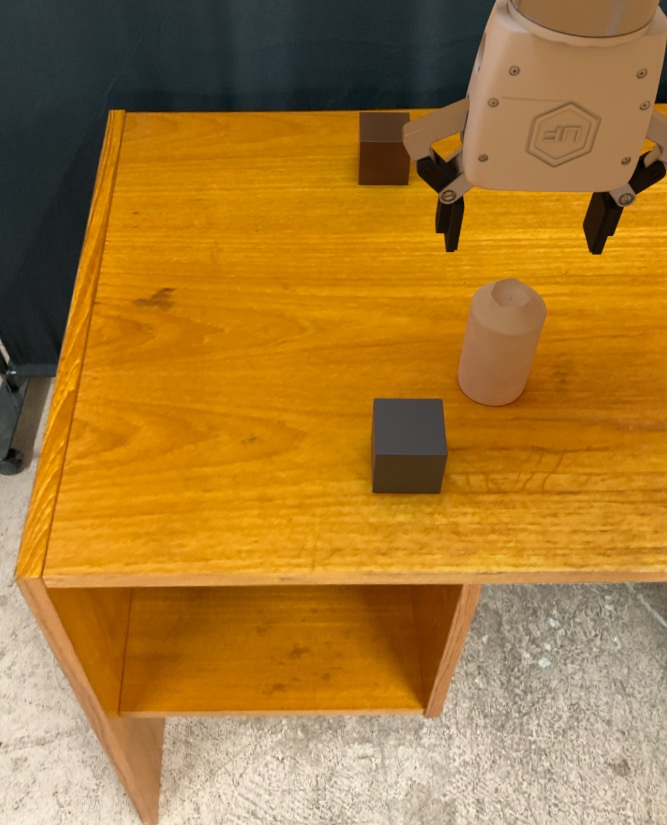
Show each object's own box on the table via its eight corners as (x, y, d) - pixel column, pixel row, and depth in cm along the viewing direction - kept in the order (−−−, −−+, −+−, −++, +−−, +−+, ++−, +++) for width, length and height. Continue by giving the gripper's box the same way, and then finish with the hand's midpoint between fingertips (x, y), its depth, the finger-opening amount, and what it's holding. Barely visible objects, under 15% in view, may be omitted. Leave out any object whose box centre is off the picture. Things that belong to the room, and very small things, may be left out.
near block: (435, 438, 63) (442, 398, 59) (440, 493, 60) (447, 455, 56) (370, 437, 63) (373, 397, 59) (372, 493, 60) (375, 454, 56)
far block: (405, 155, 86) (409, 112, 82) (408, 185, 83) (412, 141, 79) (358, 154, 86) (359, 111, 82) (358, 184, 83) (359, 141, 79)
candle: (533, 402, 66) (561, 314, 58) (466, 411, 65) (486, 323, 57) (513, 351, 69) (537, 262, 61) (449, 359, 68) (465, 270, 60)
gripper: (421, 17, 40) (394, 276, 53) (778, 23, 40) (660, 281, 53) (413, -55, 44) (390, 202, 58) (734, -49, 44) (635, 206, 58)
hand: (520, 239), depth 56 cm, fingers open, 9 cm apart
